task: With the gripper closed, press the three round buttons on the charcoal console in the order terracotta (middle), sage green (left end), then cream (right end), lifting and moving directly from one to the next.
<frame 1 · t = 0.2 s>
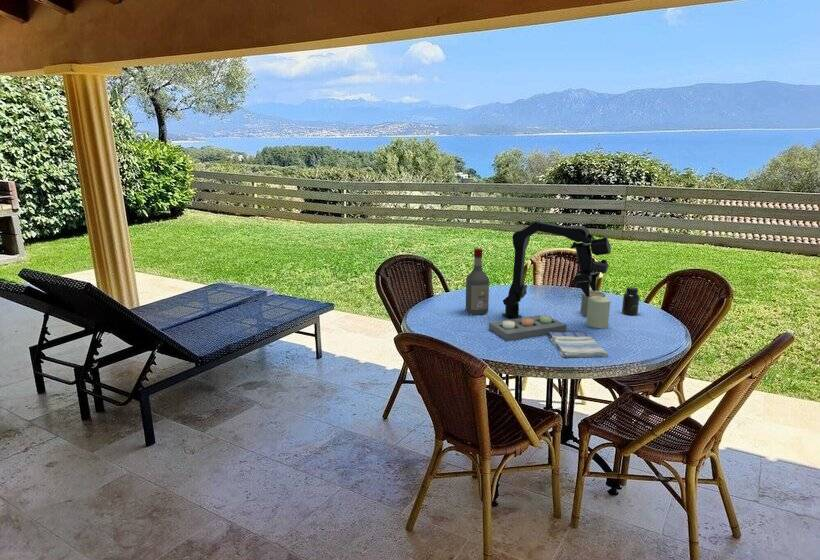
hand: (591, 293, 220), 15 cm above the table, tool pointing down, fingers open, 9 cm apart
terracotta button: (527, 323, 221), point 3 cm above the table, slide at 0.0 cm
liquor: (476, 312, 246), on the table
cream button: (508, 325, 218), point 3 cm above the table, slide at 0.0 cm
supplement bottle: (629, 313, 243), on the table
button panel: (527, 330, 222), on the table
sage button: (545, 320, 224), point 3 cm above the table, slide at 0.0 cm
dish towel: (575, 347, 205), on the table
sage green canister: (597, 325, 228), on the table
coffee mug: (591, 313, 243), on the table
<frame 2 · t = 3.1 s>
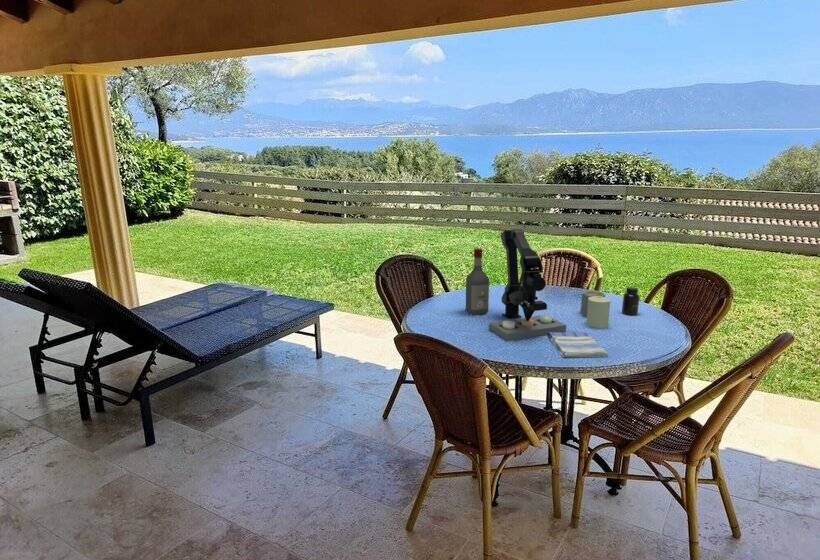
hand: (527, 320, 221), 4 cm above the table, tool pointing down, fingers closed, pressing on terracotta button
terracotta button: (527, 324, 221), point 3 cm above the table, slide at 0.4 cm, touching gripper
everything else where it was.
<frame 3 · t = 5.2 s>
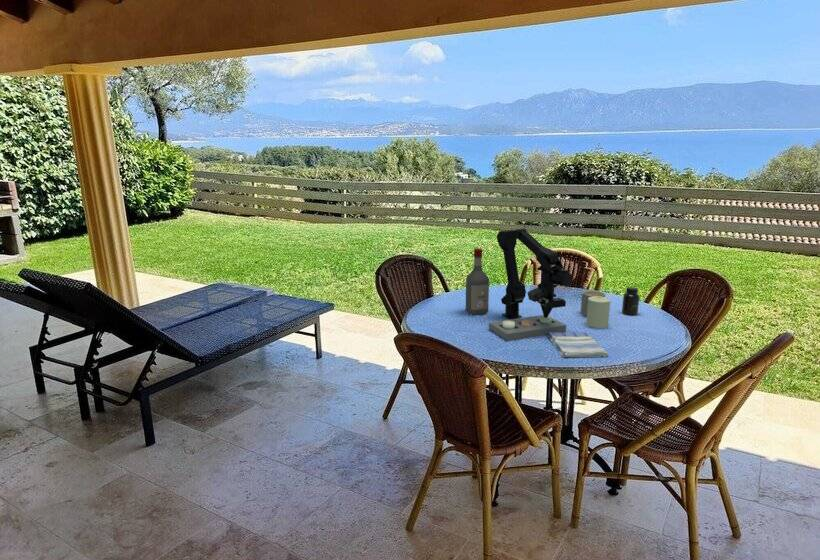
hand: (545, 317, 224), 5 cm above the table, tool pointing down, fingers closed, pressing on sage button
terracotta button: (527, 325, 221), point 2 cm above the table, slide at 1.1 cm
sage button: (545, 320, 224), point 3 cm above the table, slide at 0.2 cm, touching gripper
everything else where it was.
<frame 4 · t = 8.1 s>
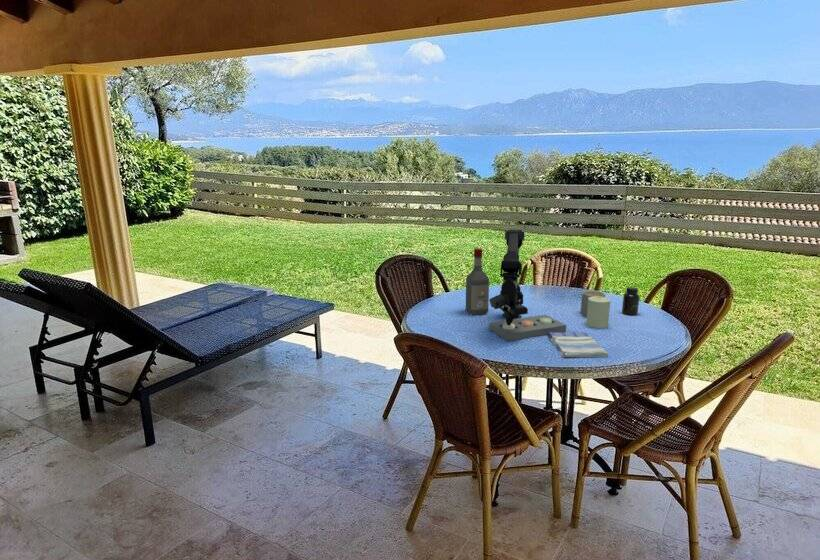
hand: (508, 324, 218), 4 cm above the table, tool pointing down, fingers closed, pressing on cream button
cream button: (508, 328, 218), point 2 cm above the table, slide at 1.1 cm, touching gripper
sage button: (545, 323, 224), point 2 cm above the table, slide at 1.1 cm
everything else where it was.
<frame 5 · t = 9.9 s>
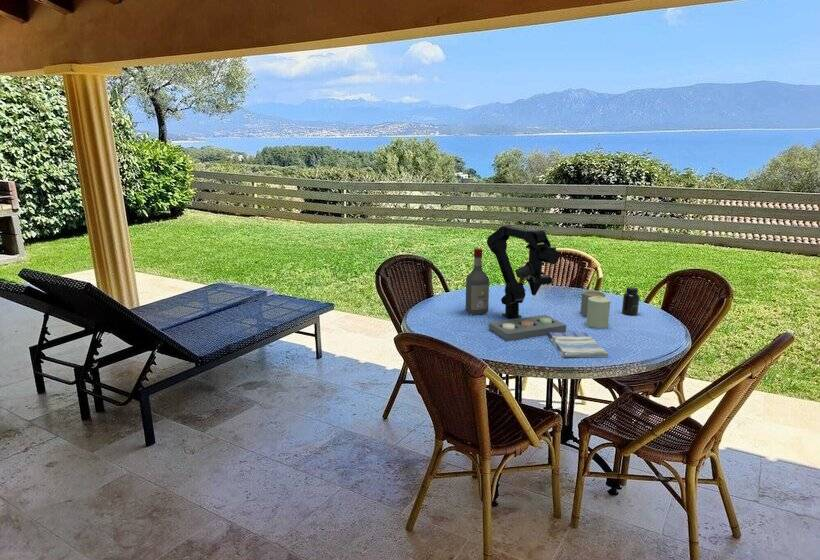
hand: (533, 295, 227), 13 cm above the table, tool pointing down, fingers closed
cream button: (508, 328, 218), point 2 cm above the table, slide at 1.1 cm
everything else where it was.
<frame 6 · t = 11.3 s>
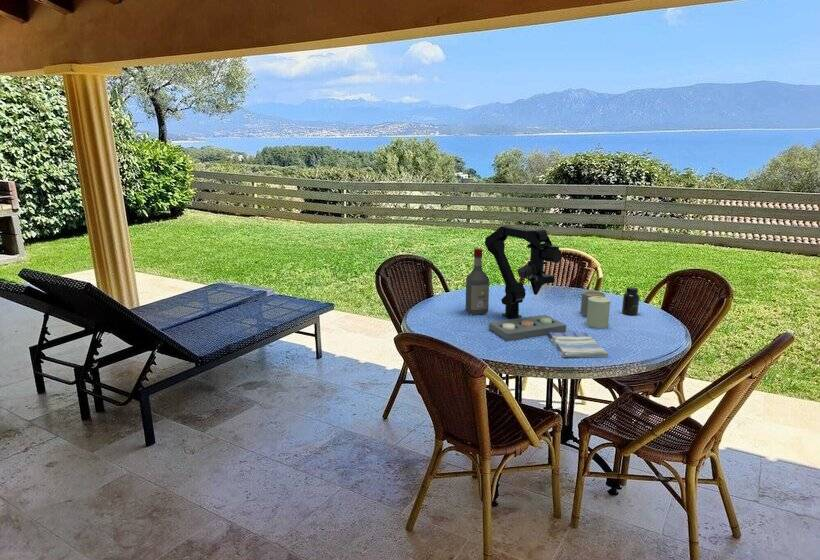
hand: (535, 294, 228), 13 cm above the table, tool pointing down, fingers closed
nothing on the table moved.
at the end: terracotta button slide at 1.1 cm; sage button slide at 1.1 cm; cream button slide at 1.1 cm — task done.
